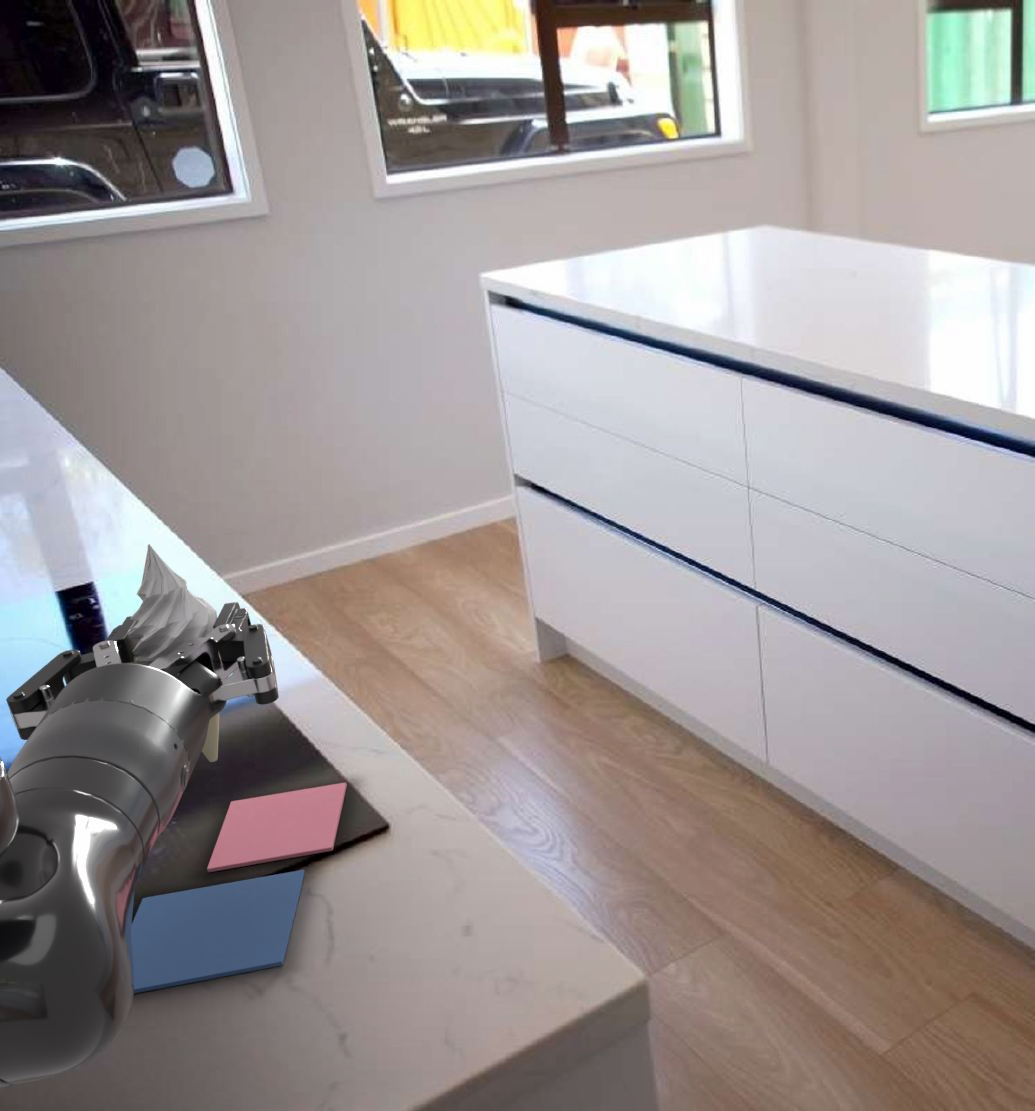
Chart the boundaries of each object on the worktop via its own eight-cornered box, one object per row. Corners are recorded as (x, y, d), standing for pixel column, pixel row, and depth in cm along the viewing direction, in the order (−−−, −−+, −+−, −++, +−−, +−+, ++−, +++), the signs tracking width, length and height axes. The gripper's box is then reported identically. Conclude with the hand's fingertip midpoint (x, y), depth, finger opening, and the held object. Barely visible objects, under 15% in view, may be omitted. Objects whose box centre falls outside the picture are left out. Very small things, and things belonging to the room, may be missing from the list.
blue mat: (103, 999, 74) (101, 995, 74) (143, 901, 82) (142, 898, 82) (282, 965, 76) (281, 961, 76) (305, 873, 84) (304, 869, 84)
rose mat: (207, 872, 84) (206, 869, 84) (231, 804, 92) (231, 801, 91) (332, 850, 86) (331, 847, 86) (347, 785, 93) (346, 782, 93)
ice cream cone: (189, 792, 77) (118, 568, 71) (157, 764, 80) (86, 547, 74) (269, 756, 80) (208, 539, 74) (235, 730, 83) (174, 520, 77)
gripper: (238, 681, 63) (294, 551, 79) (-76, 727, 61) (44, 584, 76) (273, 805, 66) (321, 657, 82) (-25, 854, 64) (81, 692, 79)
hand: (187, 623), depth 79 cm, fingers closed on ice cream cone, 5 cm apart
